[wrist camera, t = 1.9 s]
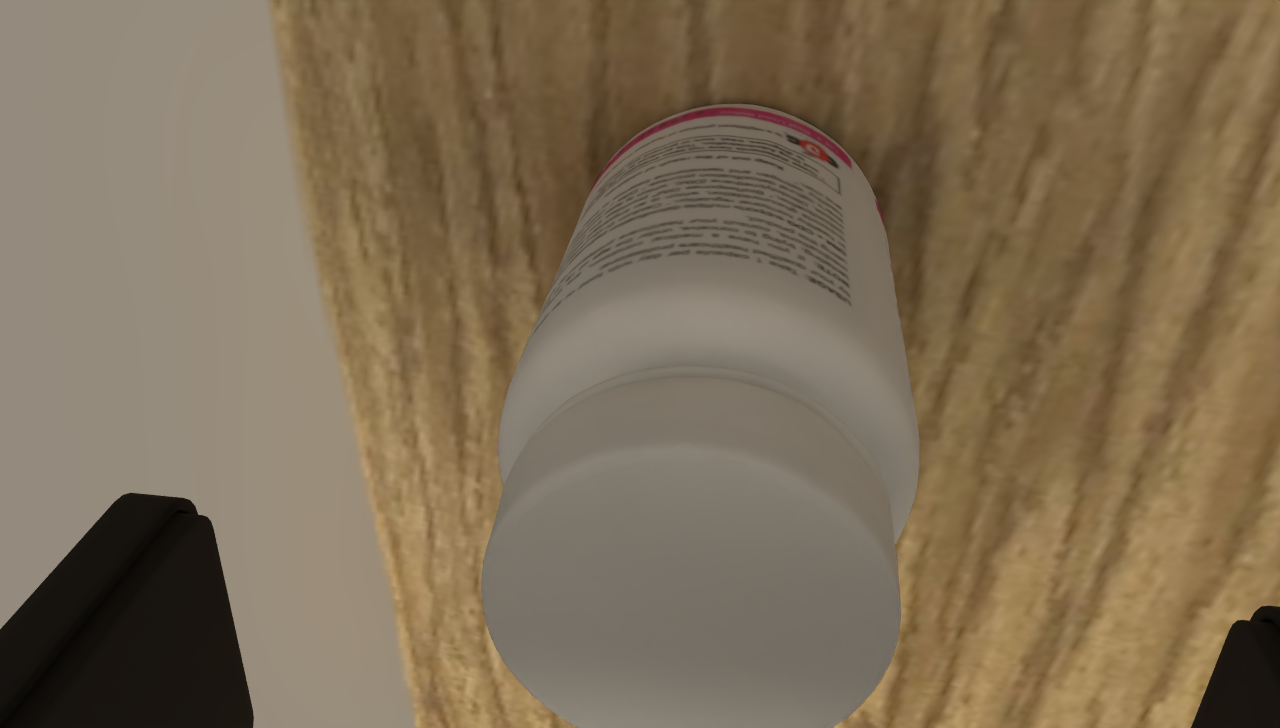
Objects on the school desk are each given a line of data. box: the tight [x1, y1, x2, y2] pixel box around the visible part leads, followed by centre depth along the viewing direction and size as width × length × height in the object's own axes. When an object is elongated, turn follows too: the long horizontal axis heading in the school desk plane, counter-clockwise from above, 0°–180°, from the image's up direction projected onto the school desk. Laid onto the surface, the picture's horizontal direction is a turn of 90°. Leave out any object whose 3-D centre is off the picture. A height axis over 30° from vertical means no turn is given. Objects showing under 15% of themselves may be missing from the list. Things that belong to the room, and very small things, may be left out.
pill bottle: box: [481, 104, 920, 728], centre depth 14 cm, size 5×5×8 cm
